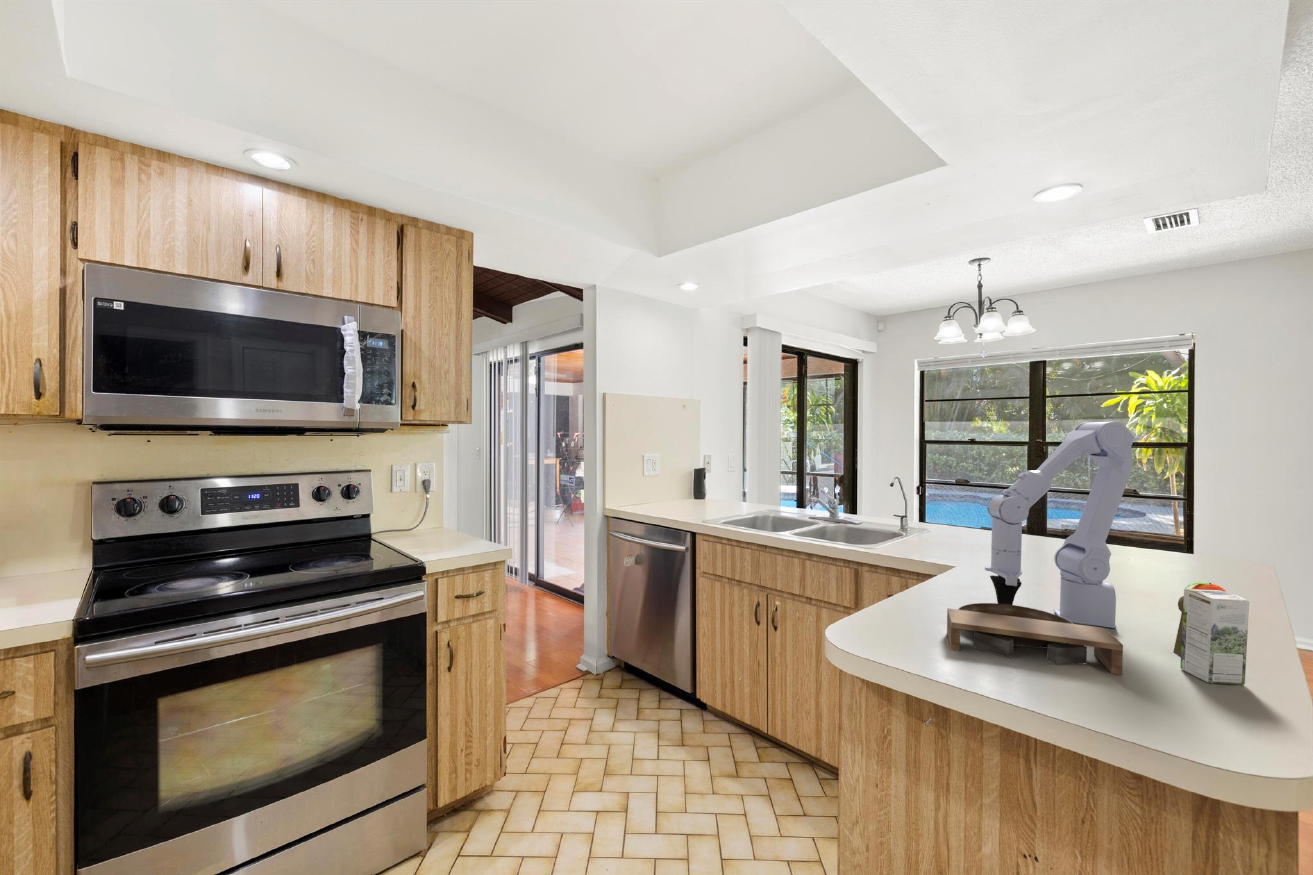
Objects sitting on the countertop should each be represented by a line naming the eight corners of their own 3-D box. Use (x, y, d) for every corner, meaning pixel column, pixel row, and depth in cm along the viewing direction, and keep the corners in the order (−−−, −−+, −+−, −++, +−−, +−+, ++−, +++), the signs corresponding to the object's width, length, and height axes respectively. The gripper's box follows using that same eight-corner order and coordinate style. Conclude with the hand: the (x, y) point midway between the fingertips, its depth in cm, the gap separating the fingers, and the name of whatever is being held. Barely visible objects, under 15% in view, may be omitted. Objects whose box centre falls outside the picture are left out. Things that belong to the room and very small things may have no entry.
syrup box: (1215, 671, 98) (1217, 588, 97) (1247, 686, 92) (1250, 598, 92) (1179, 669, 98) (1182, 587, 98) (1209, 684, 92) (1212, 597, 92)
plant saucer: (967, 644, 109) (968, 627, 108) (949, 612, 128) (949, 597, 128) (1095, 660, 102) (1095, 642, 102) (1054, 623, 122) (1055, 608, 121)
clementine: (1186, 613, 129) (1187, 583, 129) (1178, 605, 135) (1179, 576, 135) (1235, 620, 125) (1236, 588, 125) (1224, 611, 131) (1225, 581, 131)
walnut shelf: (1103, 655, 104) (1104, 627, 104) (1122, 675, 95) (1122, 644, 95) (946, 633, 114) (947, 608, 114) (951, 649, 106) (951, 622, 106)
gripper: (981, 541, 133) (979, 598, 134) (990, 554, 120) (989, 616, 120) (1015, 544, 131) (1014, 602, 131) (1029, 557, 117) (1027, 621, 118)
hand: (1004, 609), depth 125 cm, fingers closed
